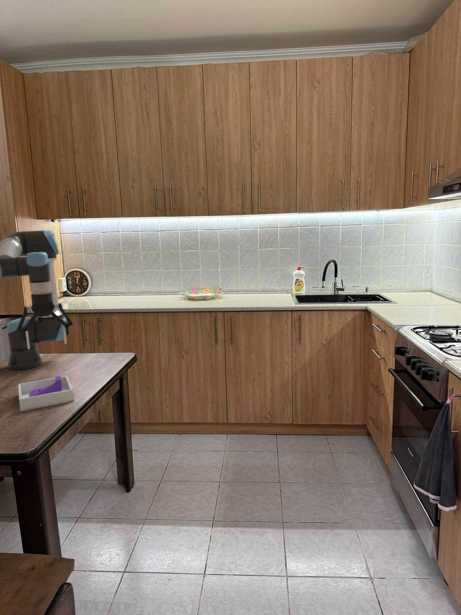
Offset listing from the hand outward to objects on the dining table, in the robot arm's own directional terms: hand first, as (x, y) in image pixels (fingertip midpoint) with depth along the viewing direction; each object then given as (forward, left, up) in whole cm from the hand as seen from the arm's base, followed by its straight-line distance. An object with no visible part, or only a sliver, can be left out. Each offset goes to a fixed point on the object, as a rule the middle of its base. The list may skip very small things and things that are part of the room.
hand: (47, 345), depth 175 cm
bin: (+4, -3, -20) cm, 20 cm away
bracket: (+4, -3, -20) cm, 20 cm away
